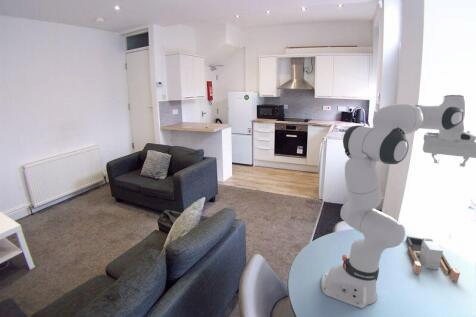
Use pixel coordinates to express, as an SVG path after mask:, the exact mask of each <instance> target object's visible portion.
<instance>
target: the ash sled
mask: <svg viewBox="0 0 476 317" xmlns="http://www.w3.org/2000/svg"><path fill="white" fill-rule="evenodd" d="M422 239H423V240H422V243H423V241H432V242H434V240H433V239H432V238H426V237H425V238H424V237H422ZM421 247H422V244H421ZM412 251H413V254H414V256H415V258H416V261H418V262H420V259H419V256H420V252H421V248H420V252H419V251H414V250H412ZM439 267H441V269H442V272H443V273H444V274H445V275H448V269H447V267H446V266H445V264H444V262H443V260H442V259H441V261H440V265H439Z"/></svg>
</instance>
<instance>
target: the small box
mask: <svg viewBox="0 0 476 317" xmlns="http://www.w3.org/2000/svg"><path fill="white" fill-rule="evenodd" d="M442 253H443V254H444V250H443V249H442V248H441V246H439V245H438V243H437V242H436V241H433V242H432V241H423V243H422V247H421V252H420V256H418V259H419V261H420V262H421V263H422V264H423V266H424V268H426V269H433V270H440V261H441V257H442Z"/></svg>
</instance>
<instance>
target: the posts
mask: <svg viewBox="0 0 476 317" xmlns="http://www.w3.org/2000/svg"><path fill="white" fill-rule="evenodd" d="M420 262H421V261H419V262H418V261H414V266H413V265H412V271H413V274H416V275H420V272H421V268H422V265H421V263H420ZM451 268H452V270H451V274H450V275H449V277H450V280H451V281H452V282H455V283H458V281H459V279H460V274H461V273H460V271H459V270H458V268H456V267H455V268H454V267H451Z"/></svg>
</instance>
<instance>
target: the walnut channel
mask: <svg viewBox="0 0 476 317" xmlns="http://www.w3.org/2000/svg"><path fill="white" fill-rule="evenodd" d="M407 246H408V245H407ZM413 251H414V250H413ZM413 251H412V249H411V247H409V246H408V247H407V254H408V256H409V258H410V262H411V264H412V267H413V266H414V261H416V258H415V256H414V254H413ZM441 259H442V260H443V262H444V264H445V266H446V267H447V269H448V273H447V275H449V276H450V274H451V270H452V268H453V267H452V266H451V265H450V263H449V262H448V260H447V258H446V257H445V255H444V252H443V253H442V257H441Z"/></svg>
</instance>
